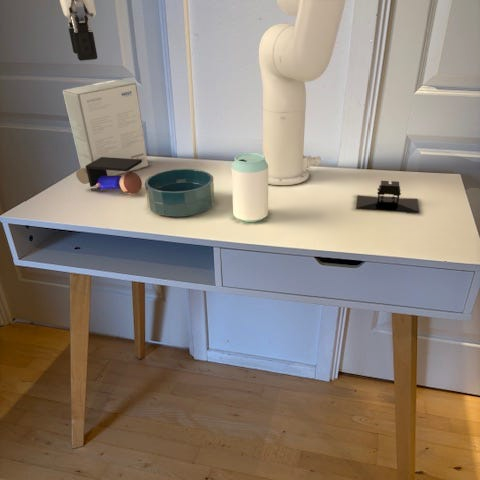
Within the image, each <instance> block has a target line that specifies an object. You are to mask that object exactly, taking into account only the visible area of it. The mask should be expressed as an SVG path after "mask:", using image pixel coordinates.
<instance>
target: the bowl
mask: <svg viewBox="0 0 480 480" xmlns="http://www.w3.org/2000/svg"><path fill="white" fill-rule="evenodd" d="M144 188H145V195H146V203H147V207H148V208H149V210H150V211H151V212H153V213H155V214H157V215H161V216H166V217H188V216H193V215H198V214H200V213H203V212H206V211H208V210H209V209H211V208H212V207H213V206H214V205H215V202H216V201H215V200H216V199H215V183H214V176H213V175H212V173H210V172H208V171H205V170H201V169H198V168H197V169H196V168H174V169H173V168H172V169H168V170H163V171H159V172H156V173H153V174H152V175H150V176H148V177H147V178H146V179H145V181H144Z"/></svg>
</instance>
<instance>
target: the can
mask: <svg viewBox="0 0 480 480" xmlns="http://www.w3.org/2000/svg"><path fill="white" fill-rule="evenodd" d="M231 189H232V191H231V192H232V215H233V217H235V218H236V219H238V220H239V221H241V222H246V223H254V222H259V221H262V220H264V219H265V218H266V217H267V216H268V215H269V184H268V164H267V162H266V161H265V156H264V155H263V153H262V154H261V153H258V152H243V153H239V154H236V155H235V156H234V161H233V162H232V164H231Z"/></svg>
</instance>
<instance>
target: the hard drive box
mask: <svg viewBox="0 0 480 480" xmlns="http://www.w3.org/2000/svg"><path fill="white" fill-rule="evenodd" d="M62 94H63V97H64V98H63V99H64V103H65V105H66V106H65V107H66V112H67V114H68V119H69V124H70V128H71V133H72V135H73V136H72V137H73V140H74V141H73V142H74V144H75V148H76V149H75V150H76V155H77V157H78V161H79V166H80V169H81V168H86V165H88V164H90V163H92V162H93V161H95V160H97V159H99V158H101V157H109V158H125V159H141V160H142V162H141V163H140V164H138V165H137V166H135V167H133V168H132V169H130V170H129V171H113V170H106V171H107V176H120V175H123V174H124V173H126V172H133V171H136V170H140V169H142V168H146V167H148V166H149V162H148V156H147V155H148V154H147V148H146V142H145V135H144V128H143V122H142V121H143V120H142V114H141V109H140V107H141V106H140V103H139V101H140V100H139V94H138V88H137V83H136V82H134V81H130V80H125V79H121V78H120V79H114V80H108V81H102V82H97V83H92V84H87V85H82V86H77V87H72V88H67V89H63V90H62Z"/></svg>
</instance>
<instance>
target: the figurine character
mask: <svg viewBox="0 0 480 480" xmlns="http://www.w3.org/2000/svg"><path fill="white" fill-rule="evenodd" d="M141 162H142V160H141V159H125V158H109V157H101V158H99V159H97V160H95V161H93V162H92V163H90V164H88V165H86V168H81V167H80V168H79V169H77V170H76V173H75V177H76V178H77V180H78V181H79V182H80V183H81V184H83V185H87V184H89V187H90V189H89V190H90V191H101V190H121V191H122V192H123V193H125V194H127V195H136V194H138V193H139V192H140V191H141V189H142V186H143V181H142V178H141V177H140V175H139V174H138V173H137V172H134V171H129V170H130V169H132V168H133V167H135V166H137V165H138V164H140V163H141ZM106 170H113V171H129V172H125V173H122V174H121V175H116V176H107V171H106ZM95 186H96V187H95Z"/></svg>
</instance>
